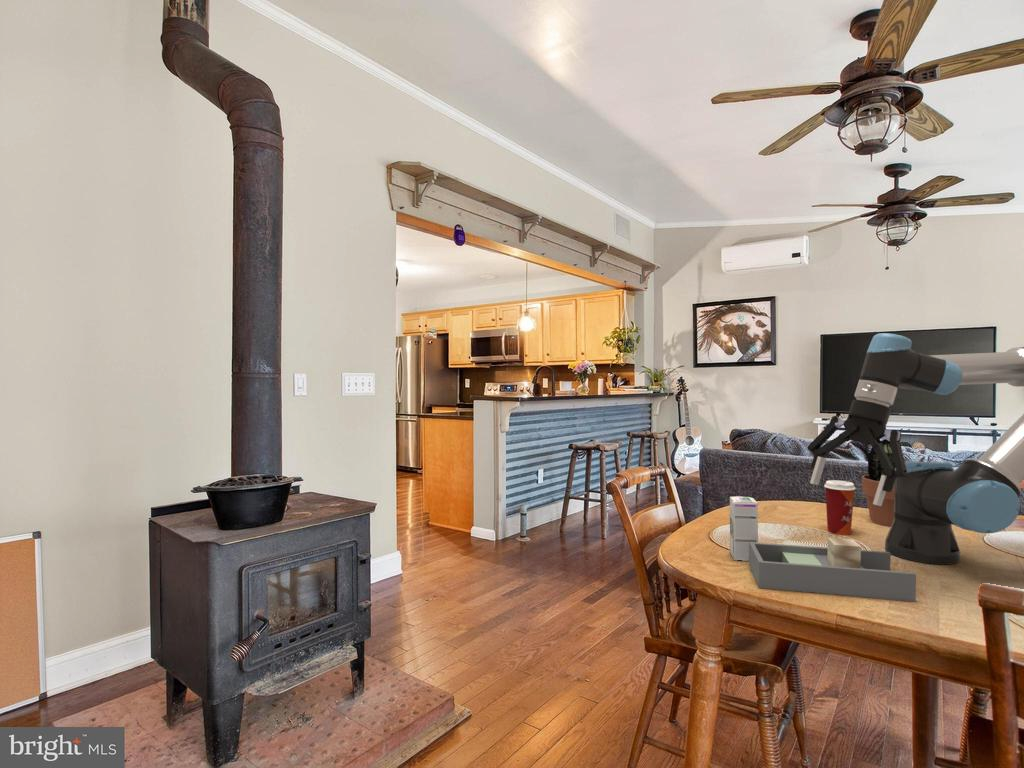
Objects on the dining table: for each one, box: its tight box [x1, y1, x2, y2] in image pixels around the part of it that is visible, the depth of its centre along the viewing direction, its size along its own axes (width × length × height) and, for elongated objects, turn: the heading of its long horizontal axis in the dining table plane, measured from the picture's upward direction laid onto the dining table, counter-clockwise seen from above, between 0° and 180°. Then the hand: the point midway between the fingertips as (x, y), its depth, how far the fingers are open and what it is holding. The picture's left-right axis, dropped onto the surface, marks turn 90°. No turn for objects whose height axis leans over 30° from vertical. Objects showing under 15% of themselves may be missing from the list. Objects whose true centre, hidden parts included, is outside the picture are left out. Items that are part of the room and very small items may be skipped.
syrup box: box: [729, 495, 759, 562], centre depth 140 cm, size 6×6×14 cm
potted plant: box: [861, 438, 895, 527], centre depth 170 cm, size 14×14×25 cm
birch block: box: [827, 537, 862, 568], centre depth 123 cm, size 5×5×5 cm
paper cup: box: [823, 479, 856, 536], centre depth 161 cm, size 8×8×14 cm
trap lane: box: [748, 542, 917, 602], centre depth 124 cm, size 29×14×6 cm, turn 75°
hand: (844, 494), depth 127 cm, fingers open, 13 cm apart
